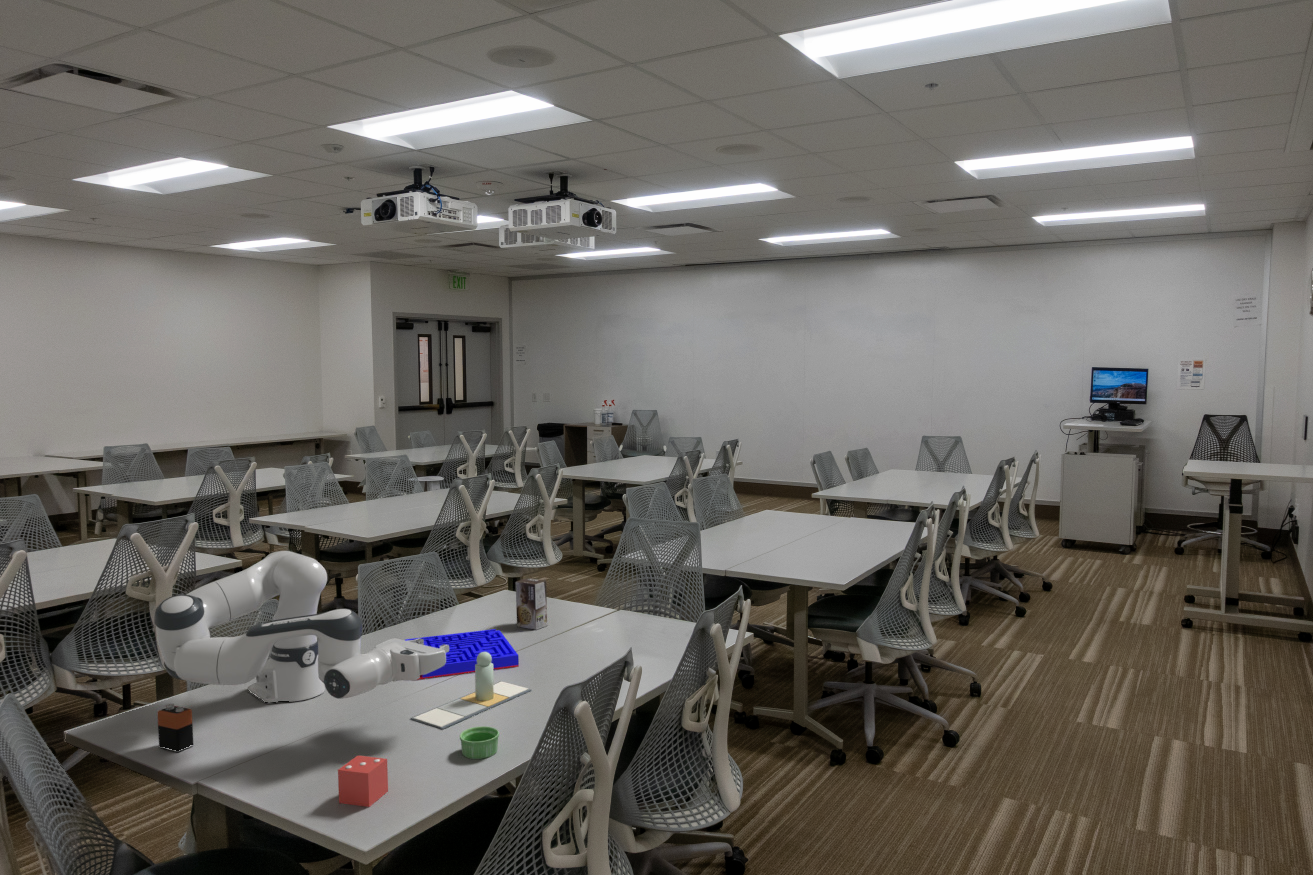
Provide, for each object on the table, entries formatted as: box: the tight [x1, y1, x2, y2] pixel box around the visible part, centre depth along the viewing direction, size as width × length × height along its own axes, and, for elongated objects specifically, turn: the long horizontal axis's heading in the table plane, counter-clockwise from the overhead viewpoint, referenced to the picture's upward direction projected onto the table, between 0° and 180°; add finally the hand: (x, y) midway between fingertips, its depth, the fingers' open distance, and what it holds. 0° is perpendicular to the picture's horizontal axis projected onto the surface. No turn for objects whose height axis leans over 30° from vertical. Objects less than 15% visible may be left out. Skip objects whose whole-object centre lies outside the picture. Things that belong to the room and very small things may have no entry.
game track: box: [410, 681, 532, 730], centre depth 232 cm, size 12×32×1 cm, turn 145°
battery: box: [156, 703, 194, 751], centre depth 207 cm, size 4×7×10 cm, turn 66°
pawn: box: [474, 652, 494, 701], centre depth 235 cm, size 5×5×12 cm
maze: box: [404, 628, 520, 681], centre depth 271 cm, size 30×30×4 cm
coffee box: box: [515, 577, 548, 631], centre depth 305 cm, size 9×6×16 cm
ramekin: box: [459, 726, 500, 760], centre depth 203 cm, size 9×9×4 cm
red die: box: [337, 755, 389, 808], centre depth 181 cm, size 7×7×7 cm
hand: (434, 644), depth 223 cm, fingers open, 8 cm apart
